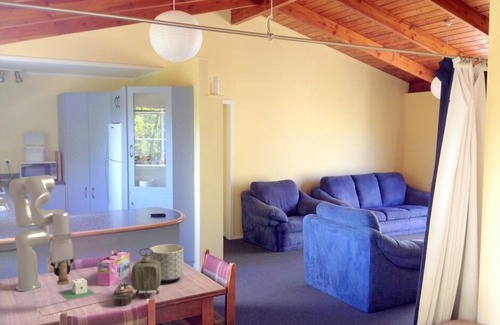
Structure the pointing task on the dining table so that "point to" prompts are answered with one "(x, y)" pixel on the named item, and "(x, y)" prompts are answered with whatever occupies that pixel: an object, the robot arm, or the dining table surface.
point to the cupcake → (123, 295)
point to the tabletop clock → (146, 274)
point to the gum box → (113, 268)
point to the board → (76, 307)
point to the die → (79, 286)
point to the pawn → (62, 273)
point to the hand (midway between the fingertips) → (62, 274)
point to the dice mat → (71, 295)
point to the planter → (169, 260)
